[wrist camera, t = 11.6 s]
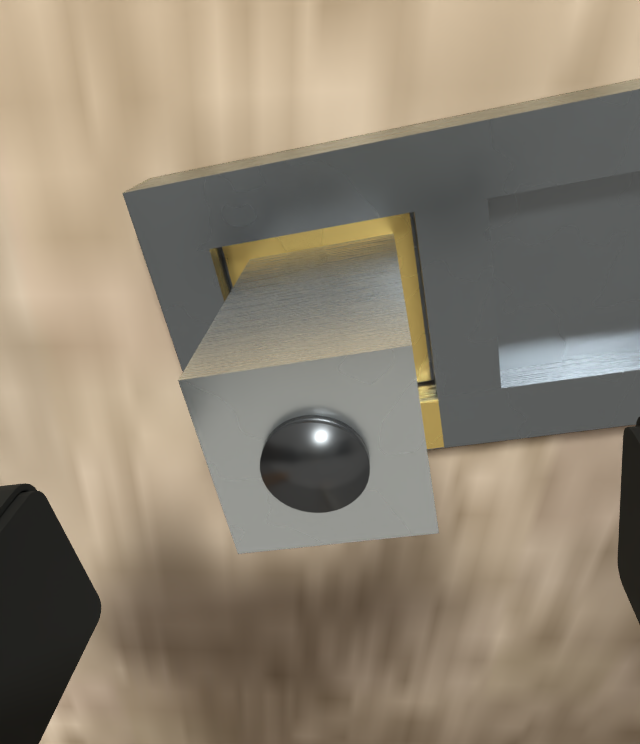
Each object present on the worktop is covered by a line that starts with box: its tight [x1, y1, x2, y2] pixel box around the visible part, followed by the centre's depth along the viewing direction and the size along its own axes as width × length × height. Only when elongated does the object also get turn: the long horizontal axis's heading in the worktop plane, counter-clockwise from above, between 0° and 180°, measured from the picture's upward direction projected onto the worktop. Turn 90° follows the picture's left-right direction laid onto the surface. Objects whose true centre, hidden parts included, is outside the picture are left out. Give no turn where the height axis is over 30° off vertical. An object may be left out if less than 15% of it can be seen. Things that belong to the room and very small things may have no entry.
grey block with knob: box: [178, 233, 439, 554], centre depth 16 cm, size 4×4×8 cm
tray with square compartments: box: [123, 79, 640, 450], centre depth 18 cm, size 26×10×2 cm, turn 101°
